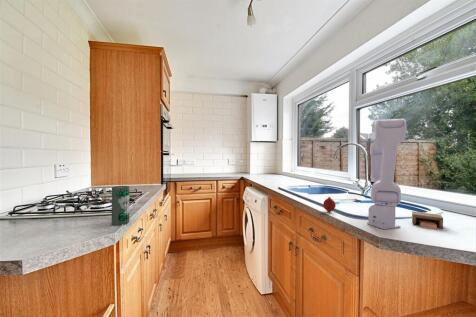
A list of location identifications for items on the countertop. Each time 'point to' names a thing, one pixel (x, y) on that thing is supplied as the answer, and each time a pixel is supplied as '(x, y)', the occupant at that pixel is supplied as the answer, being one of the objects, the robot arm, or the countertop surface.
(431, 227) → the tile
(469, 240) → the countertop surface
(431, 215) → the shelf
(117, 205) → the can
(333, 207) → the onion
